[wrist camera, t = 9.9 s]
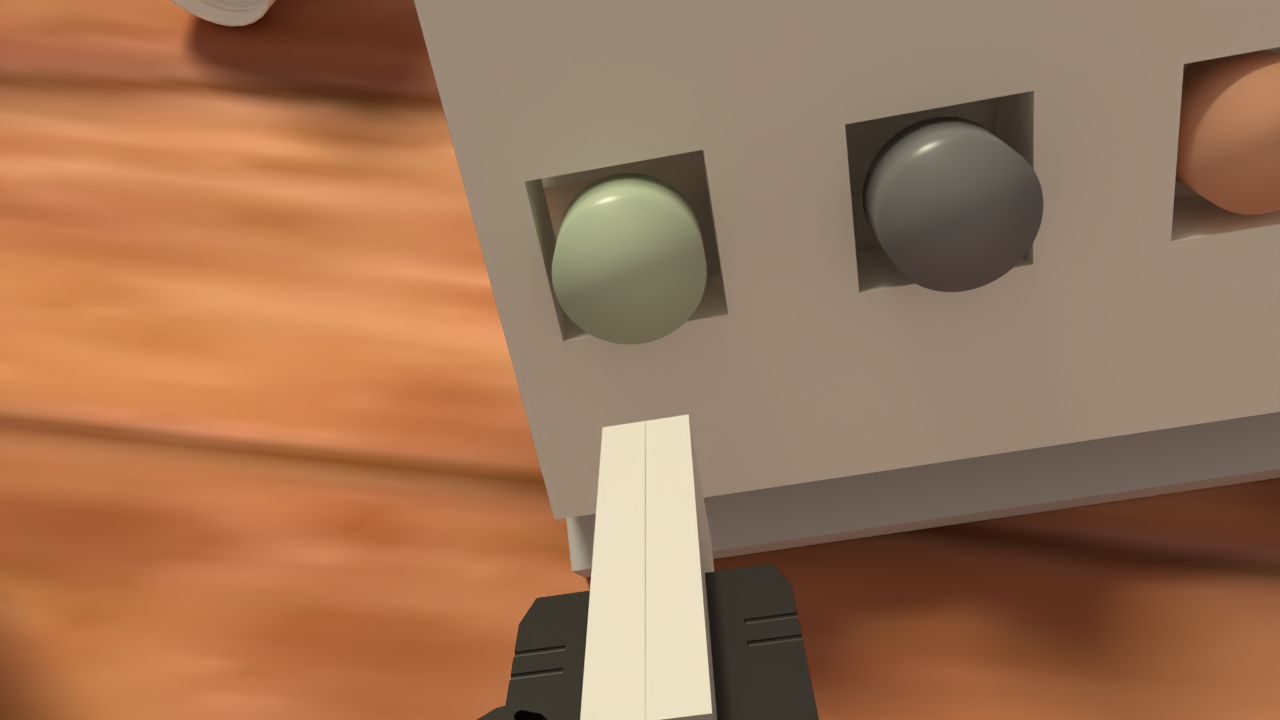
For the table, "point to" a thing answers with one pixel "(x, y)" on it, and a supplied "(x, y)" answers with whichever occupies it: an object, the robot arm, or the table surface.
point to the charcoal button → (952, 204)
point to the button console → (875, 255)
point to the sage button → (629, 259)
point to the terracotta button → (1232, 132)
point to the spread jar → (227, 10)
